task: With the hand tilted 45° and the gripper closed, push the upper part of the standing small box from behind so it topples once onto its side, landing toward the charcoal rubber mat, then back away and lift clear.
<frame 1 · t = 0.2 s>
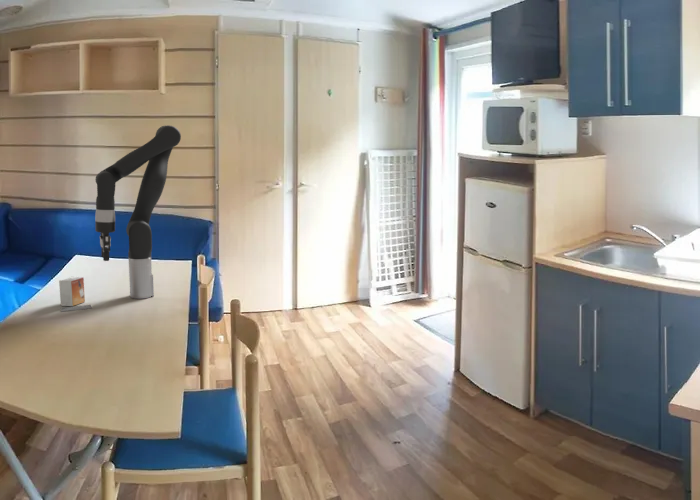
hand: (105, 259, 237), 18 cm above the table, tool pointing down, fingers open, 8 cm apart
small box: (73, 304, 233), on the table, touching charcoal mat
charcoal mat: (76, 308, 227), on the table
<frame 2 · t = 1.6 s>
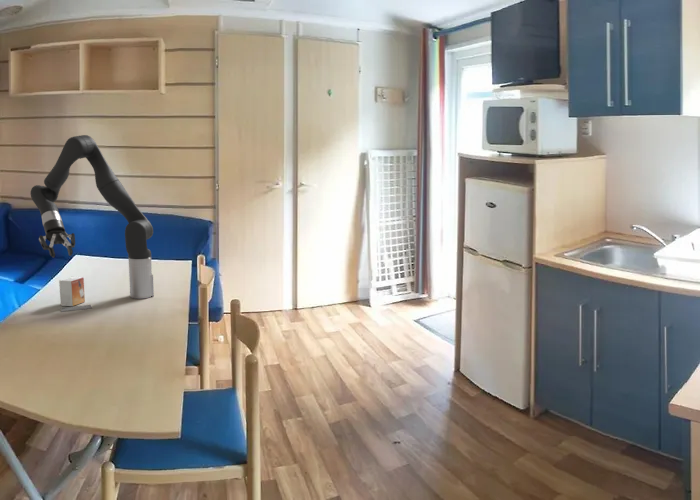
hand: (62, 255, 238), 18 cm above the table, tool tilted 45°, fingers open, 5 cm apart
nothing on the table moved.
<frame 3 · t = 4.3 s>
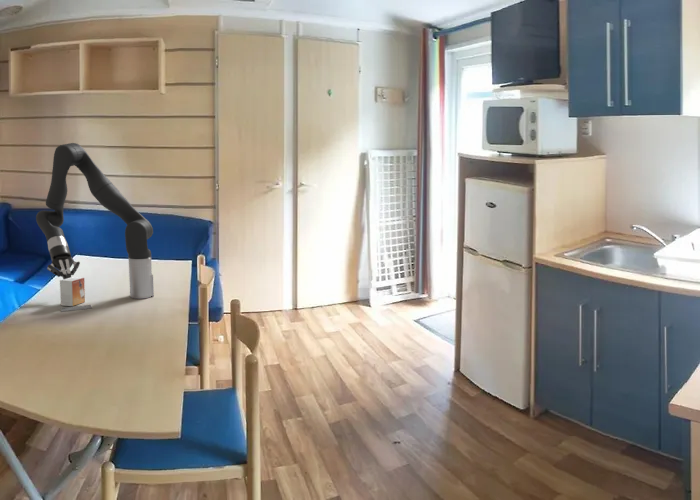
hand: (68, 283, 235), 8 cm above the table, tool tilted 45°, fingers closed
small box: (73, 304, 233), on the table, touching charcoal mat, gripper
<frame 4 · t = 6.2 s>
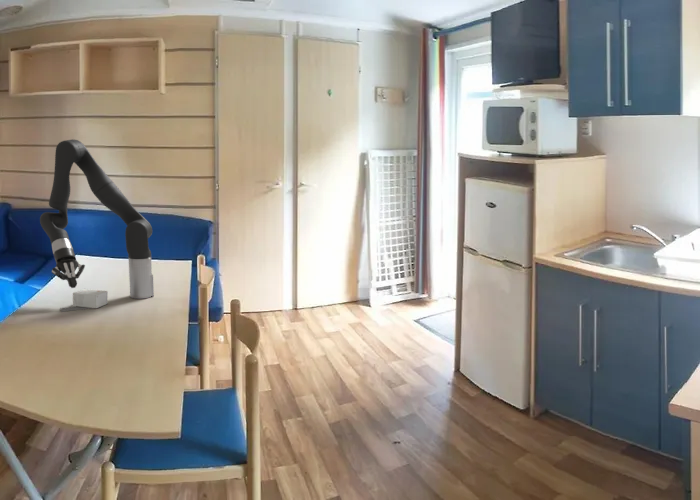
hand: (73, 286, 229), 8 cm above the table, tool tilted 45°, fingers closed
small box: (78, 297, 232), point 3 cm above the table, touching charcoal mat
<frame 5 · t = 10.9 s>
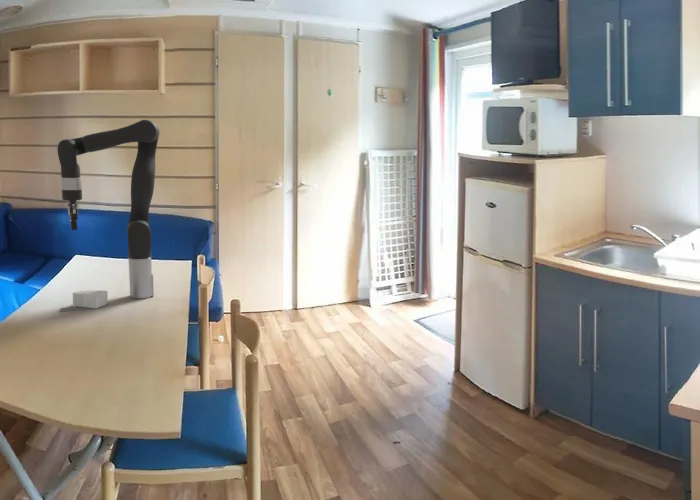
hand: (74, 229, 238), 29 cm above the table, tool pointing down, fingers closed
nothing on the table moved.
at the end: small box tilted 92°; small box inside the target area (4.0 cm from its centre), point 3.2 cm above the table; the gripper is holding nothing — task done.
